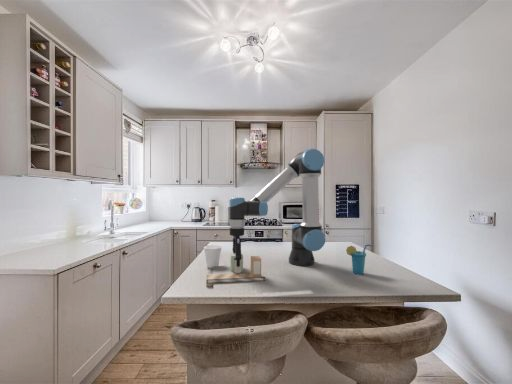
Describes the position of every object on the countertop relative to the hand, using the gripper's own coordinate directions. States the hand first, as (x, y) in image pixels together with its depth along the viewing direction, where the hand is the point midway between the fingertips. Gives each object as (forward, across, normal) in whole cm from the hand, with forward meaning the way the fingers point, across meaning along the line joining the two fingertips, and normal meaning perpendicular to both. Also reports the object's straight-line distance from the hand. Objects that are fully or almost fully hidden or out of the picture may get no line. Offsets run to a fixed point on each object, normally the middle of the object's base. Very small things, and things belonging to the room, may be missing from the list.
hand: (236, 268), depth 135 cm
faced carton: (+1, +12, +8) cm, 14 cm away
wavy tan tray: (+2, +12, -2) cm, 12 cm away
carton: (+2, 0, 0) cm, 2 cm away
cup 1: (+2, -12, -12) cm, 17 cm away
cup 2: (+2, +10, +63) cm, 64 cm away
